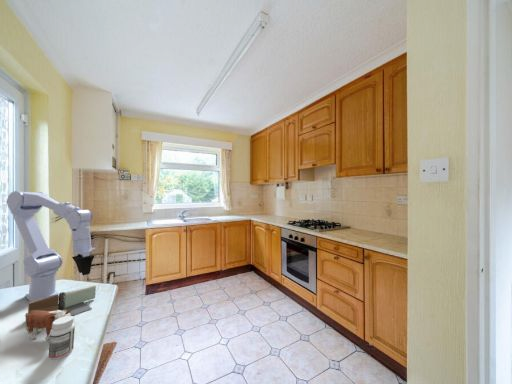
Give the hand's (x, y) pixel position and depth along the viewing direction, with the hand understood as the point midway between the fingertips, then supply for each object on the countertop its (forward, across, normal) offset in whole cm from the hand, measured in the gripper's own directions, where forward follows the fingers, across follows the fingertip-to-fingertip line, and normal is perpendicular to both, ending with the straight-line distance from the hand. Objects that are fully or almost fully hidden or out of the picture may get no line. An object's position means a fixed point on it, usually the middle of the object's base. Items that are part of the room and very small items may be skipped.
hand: (84, 273), depth 81 cm
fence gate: (+10, -3, +2) cm, 11 cm away
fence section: (+9, -5, +11) cm, 15 cm away
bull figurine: (+12, -21, +12) cm, 27 cm away
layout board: (+10, -5, +8) cm, 14 cm away
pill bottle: (+13, -31, +10) cm, 35 cm away
